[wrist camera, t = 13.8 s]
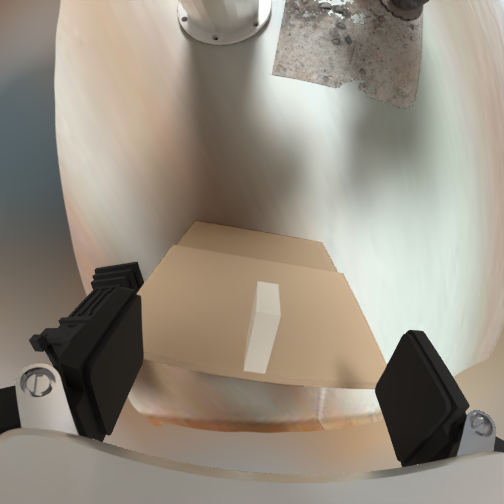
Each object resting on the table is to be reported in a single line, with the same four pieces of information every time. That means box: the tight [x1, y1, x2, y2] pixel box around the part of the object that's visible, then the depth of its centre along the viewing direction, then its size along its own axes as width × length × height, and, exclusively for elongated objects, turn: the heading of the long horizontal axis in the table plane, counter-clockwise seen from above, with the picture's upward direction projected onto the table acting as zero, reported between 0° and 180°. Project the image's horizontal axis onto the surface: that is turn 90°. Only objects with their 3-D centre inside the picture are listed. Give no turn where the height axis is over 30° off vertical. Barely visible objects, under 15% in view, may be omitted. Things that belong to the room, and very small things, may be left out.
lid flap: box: [137, 245, 387, 389], centre depth 22 cm, size 16×18×5 cm
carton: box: [167, 221, 337, 387], centre depth 39 cm, size 16×18×12 cm
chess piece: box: [29, 262, 144, 366], centre depth 37 cm, size 8×8×20 cm
